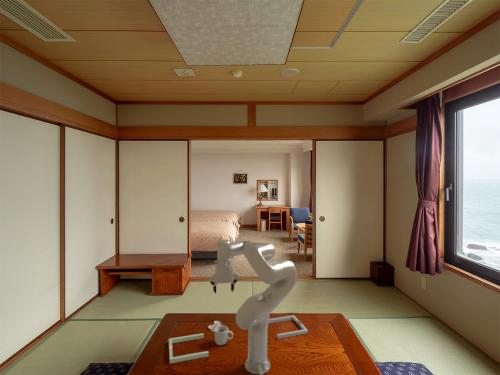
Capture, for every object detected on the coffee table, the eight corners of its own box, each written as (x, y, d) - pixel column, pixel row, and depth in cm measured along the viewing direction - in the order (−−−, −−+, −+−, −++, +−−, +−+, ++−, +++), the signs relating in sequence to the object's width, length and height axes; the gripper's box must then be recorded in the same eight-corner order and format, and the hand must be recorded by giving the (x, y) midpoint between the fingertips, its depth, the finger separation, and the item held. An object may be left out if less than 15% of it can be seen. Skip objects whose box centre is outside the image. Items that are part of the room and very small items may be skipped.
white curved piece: (206, 330, 170) (206, 324, 170) (211, 324, 178) (211, 317, 178) (220, 332, 168) (220, 326, 168) (224, 326, 176) (224, 319, 176)
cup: (234, 339, 161) (234, 325, 160) (231, 347, 153) (231, 333, 153) (215, 338, 162) (215, 324, 162) (212, 346, 154) (212, 332, 154)
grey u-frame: (308, 333, 167) (308, 329, 167) (278, 338, 161) (278, 334, 161) (293, 318, 185) (293, 314, 185) (266, 322, 180) (266, 318, 179)
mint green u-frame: (208, 356, 145) (208, 351, 145) (169, 363, 139) (169, 358, 139) (203, 336, 163) (203, 332, 163) (168, 342, 158) (168, 337, 157)
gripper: (209, 265, 152) (209, 295, 152) (240, 263, 156) (240, 293, 157) (207, 260, 159) (207, 290, 160) (237, 259, 163) (237, 287, 164)
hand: (223, 291), depth 158 cm, fingers open, 9 cm apart
